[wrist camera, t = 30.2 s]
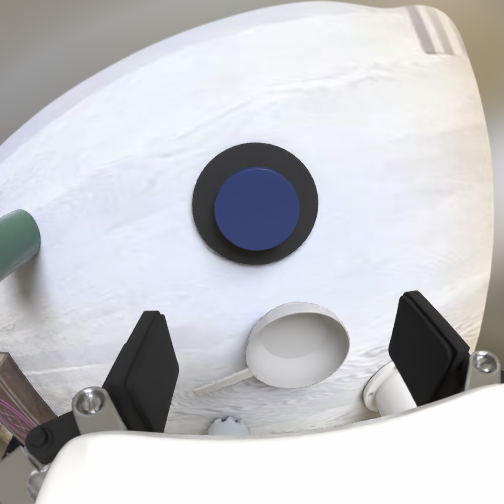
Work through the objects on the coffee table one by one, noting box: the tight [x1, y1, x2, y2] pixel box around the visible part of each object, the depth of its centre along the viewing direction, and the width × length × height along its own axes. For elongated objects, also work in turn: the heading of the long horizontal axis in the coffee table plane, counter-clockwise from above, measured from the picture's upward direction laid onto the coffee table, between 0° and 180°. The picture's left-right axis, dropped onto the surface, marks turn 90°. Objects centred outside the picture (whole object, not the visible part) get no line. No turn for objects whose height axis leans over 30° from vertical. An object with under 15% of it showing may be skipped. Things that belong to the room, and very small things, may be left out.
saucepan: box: [193, 302, 350, 396], centre depth 29 cm, size 11×18×4 cm, turn 118°
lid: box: [214, 166, 299, 251], centre depth 24 cm, size 7×7×2 cm
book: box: [0, 352, 57, 446], centre depth 37 cm, size 30×22×5 cm
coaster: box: [192, 143, 318, 265], centre depth 25 cm, size 11×11×1 cm
